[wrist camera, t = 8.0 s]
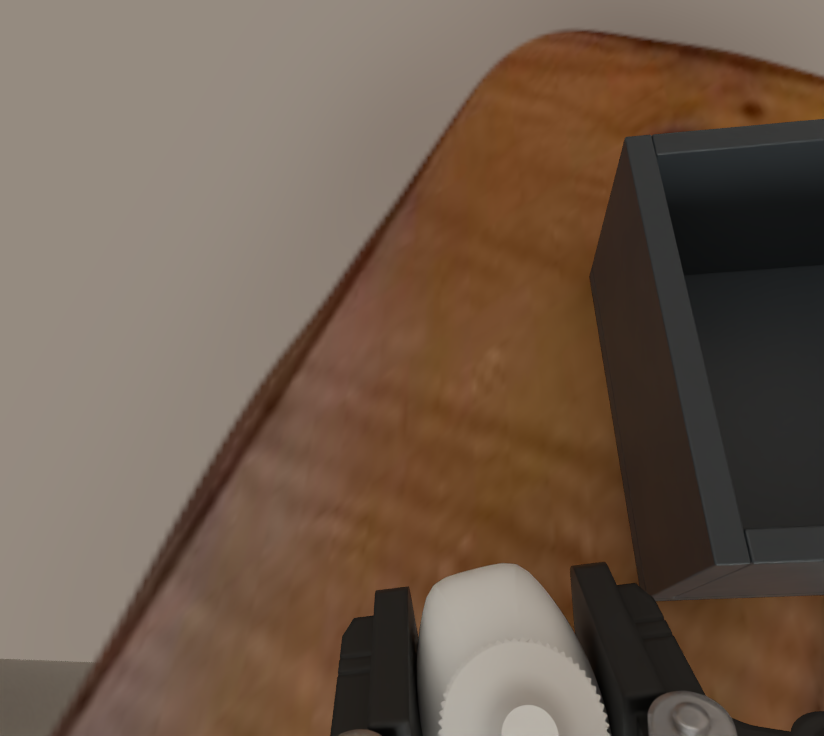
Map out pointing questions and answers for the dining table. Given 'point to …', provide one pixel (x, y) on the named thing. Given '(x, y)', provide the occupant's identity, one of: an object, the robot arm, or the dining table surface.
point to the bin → (718, 357)
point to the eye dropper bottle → (502, 661)
